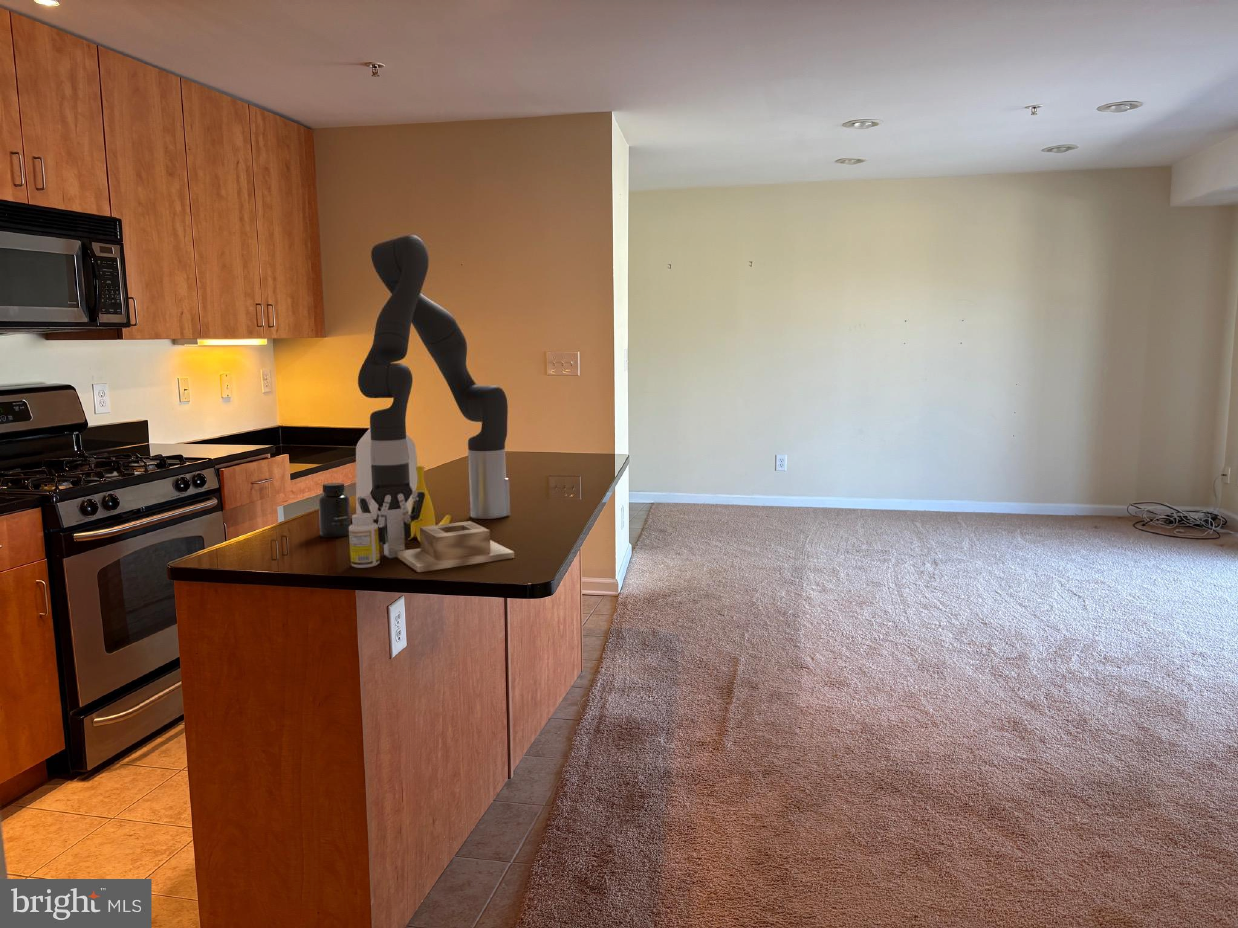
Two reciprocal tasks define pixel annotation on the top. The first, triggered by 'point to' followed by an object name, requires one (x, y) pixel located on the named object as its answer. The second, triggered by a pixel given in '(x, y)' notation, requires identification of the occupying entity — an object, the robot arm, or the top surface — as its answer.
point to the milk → (366, 477)
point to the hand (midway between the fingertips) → (394, 542)
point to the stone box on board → (453, 547)
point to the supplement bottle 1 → (334, 511)
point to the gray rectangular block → (394, 532)
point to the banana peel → (424, 508)
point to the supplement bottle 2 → (364, 541)
